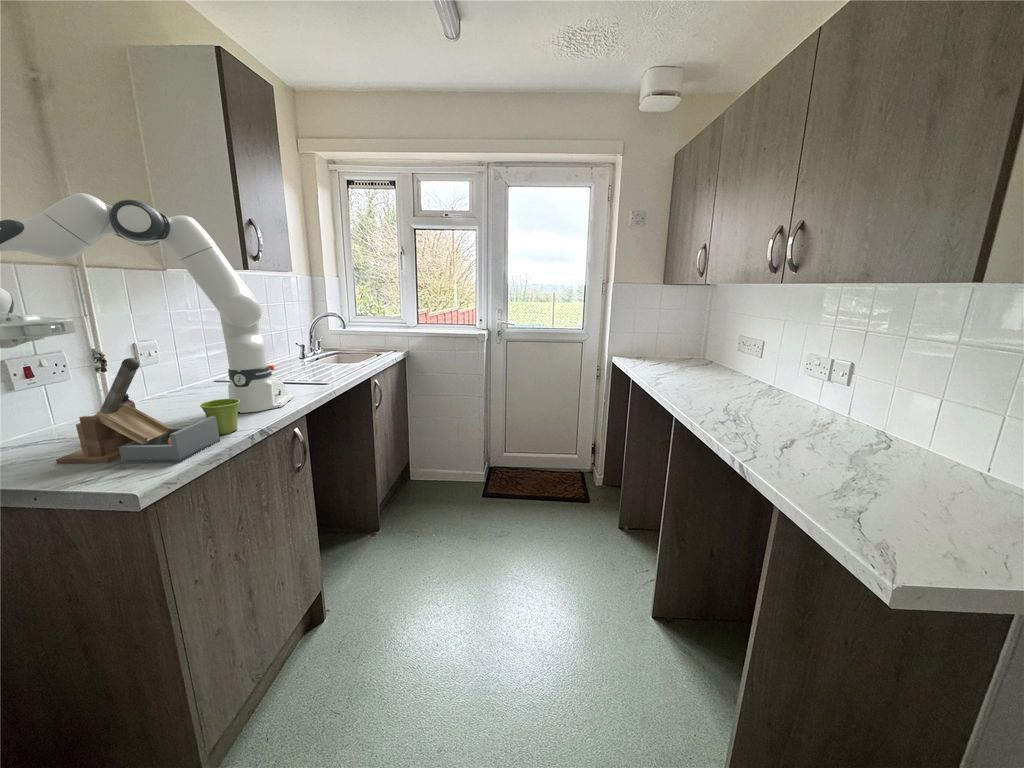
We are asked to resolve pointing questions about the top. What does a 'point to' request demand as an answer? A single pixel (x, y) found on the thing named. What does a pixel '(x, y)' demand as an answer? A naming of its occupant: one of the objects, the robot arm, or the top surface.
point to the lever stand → (96, 443)
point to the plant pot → (223, 413)
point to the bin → (173, 444)
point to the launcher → (128, 410)
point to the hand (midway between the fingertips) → (55, 329)
